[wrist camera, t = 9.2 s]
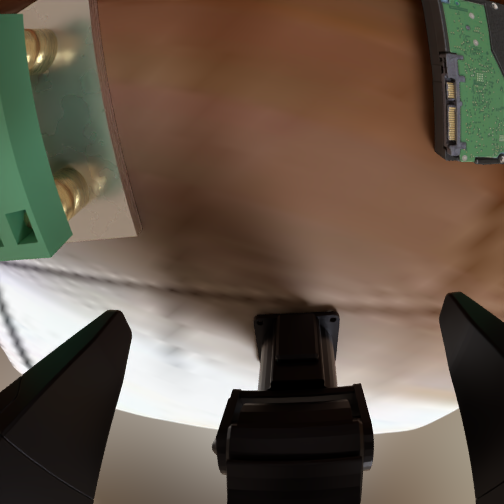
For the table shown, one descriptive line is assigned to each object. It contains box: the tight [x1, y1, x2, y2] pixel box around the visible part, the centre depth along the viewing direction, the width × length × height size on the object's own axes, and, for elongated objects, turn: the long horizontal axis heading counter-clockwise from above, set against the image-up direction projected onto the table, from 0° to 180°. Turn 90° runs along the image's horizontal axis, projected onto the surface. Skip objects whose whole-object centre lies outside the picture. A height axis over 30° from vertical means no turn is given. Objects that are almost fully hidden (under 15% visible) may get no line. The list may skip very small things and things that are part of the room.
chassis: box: [17, 0, 143, 243], centre depth 15 cm, size 18×12×6 cm, turn 7°
